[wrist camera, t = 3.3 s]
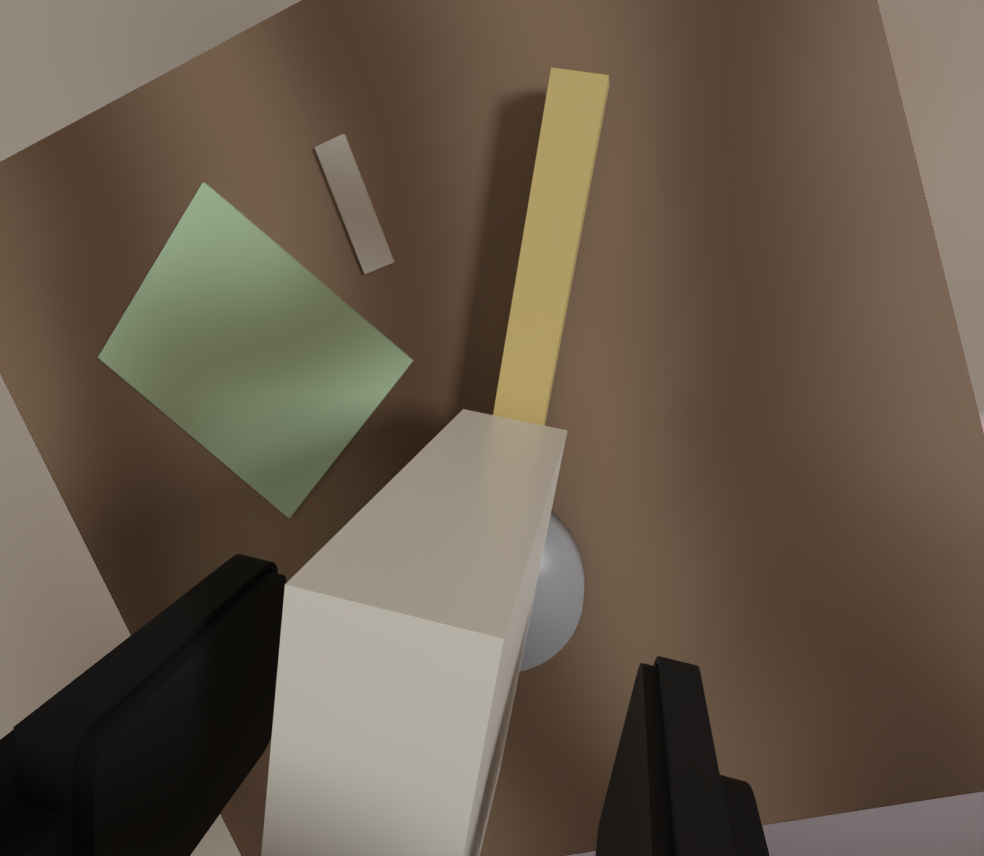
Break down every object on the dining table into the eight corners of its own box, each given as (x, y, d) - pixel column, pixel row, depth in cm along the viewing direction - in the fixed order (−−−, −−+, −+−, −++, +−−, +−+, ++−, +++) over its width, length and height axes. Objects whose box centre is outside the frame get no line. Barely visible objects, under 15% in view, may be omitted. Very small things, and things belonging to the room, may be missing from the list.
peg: (391, 690, 15) (159, 1134, 8) (479, 71, 12) (216, -263, 4) (552, 733, 15) (477, 1252, 7) (691, 100, 11) (838, -218, 4)
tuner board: (790, -218, 11) (811, -278, 10) (1031, 735, 14) (1071, 782, 13) (-31, 210, 15) (-89, 206, 14) (286, 861, 19) (262, 905, 17)
